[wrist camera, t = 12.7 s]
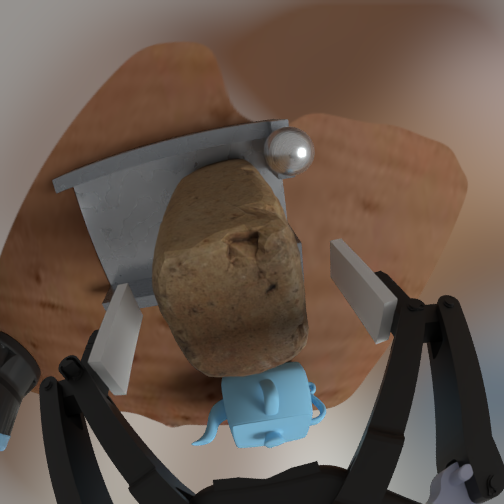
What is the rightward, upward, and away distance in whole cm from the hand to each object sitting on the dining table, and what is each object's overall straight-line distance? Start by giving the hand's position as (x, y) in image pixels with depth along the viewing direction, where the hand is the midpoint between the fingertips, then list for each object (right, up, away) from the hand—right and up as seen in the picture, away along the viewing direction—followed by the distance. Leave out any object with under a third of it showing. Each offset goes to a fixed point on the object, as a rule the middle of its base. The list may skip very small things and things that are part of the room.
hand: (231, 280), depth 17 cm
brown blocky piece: (-2, +7, +13) cm, 15 cm away
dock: (-6, +6, +13) cm, 16 cm away
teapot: (+1, -21, +28) cm, 35 cm away
